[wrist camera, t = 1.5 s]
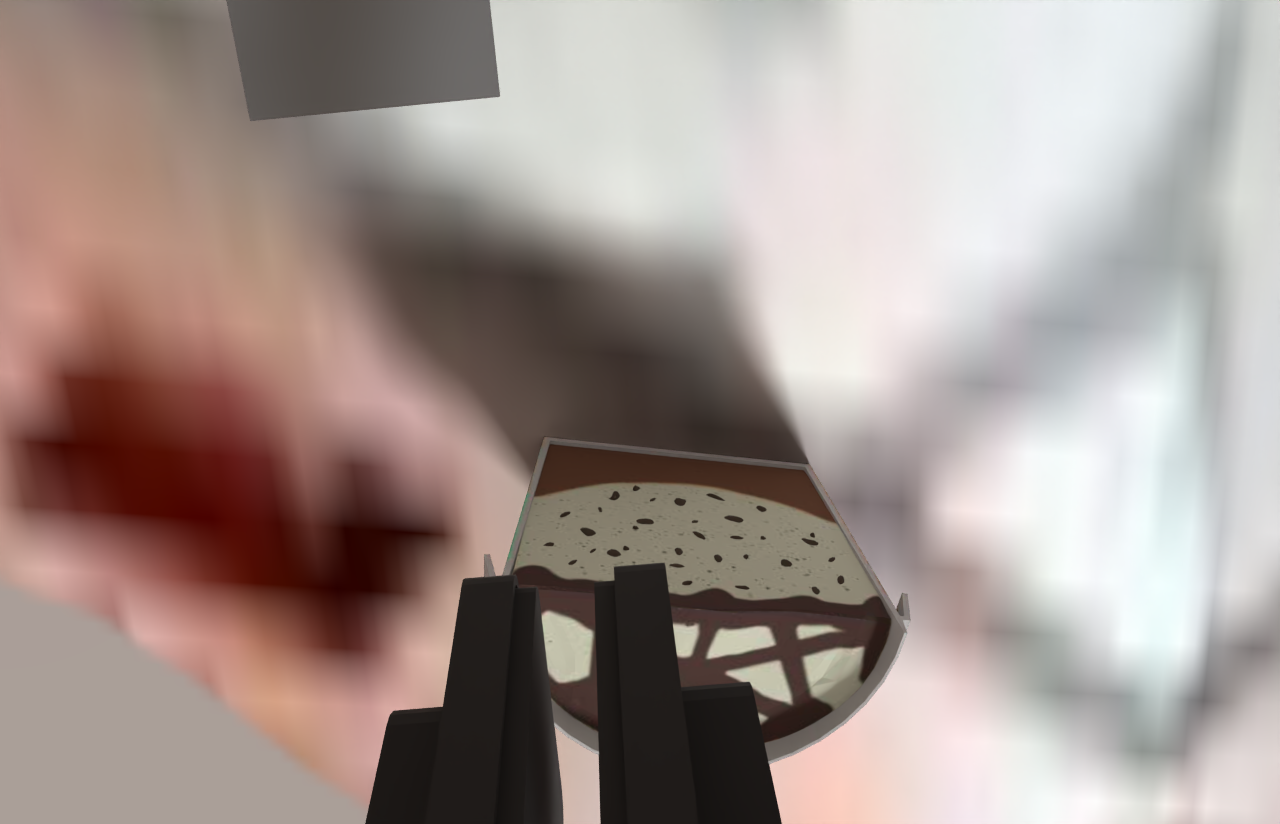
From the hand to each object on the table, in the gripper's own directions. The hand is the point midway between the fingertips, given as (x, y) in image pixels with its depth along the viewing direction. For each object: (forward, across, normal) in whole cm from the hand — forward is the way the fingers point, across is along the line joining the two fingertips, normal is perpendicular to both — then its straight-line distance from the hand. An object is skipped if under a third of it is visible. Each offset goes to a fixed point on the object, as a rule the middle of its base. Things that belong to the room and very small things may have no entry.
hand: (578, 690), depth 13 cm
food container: (+27, -2, +14) cm, 31 cm away
